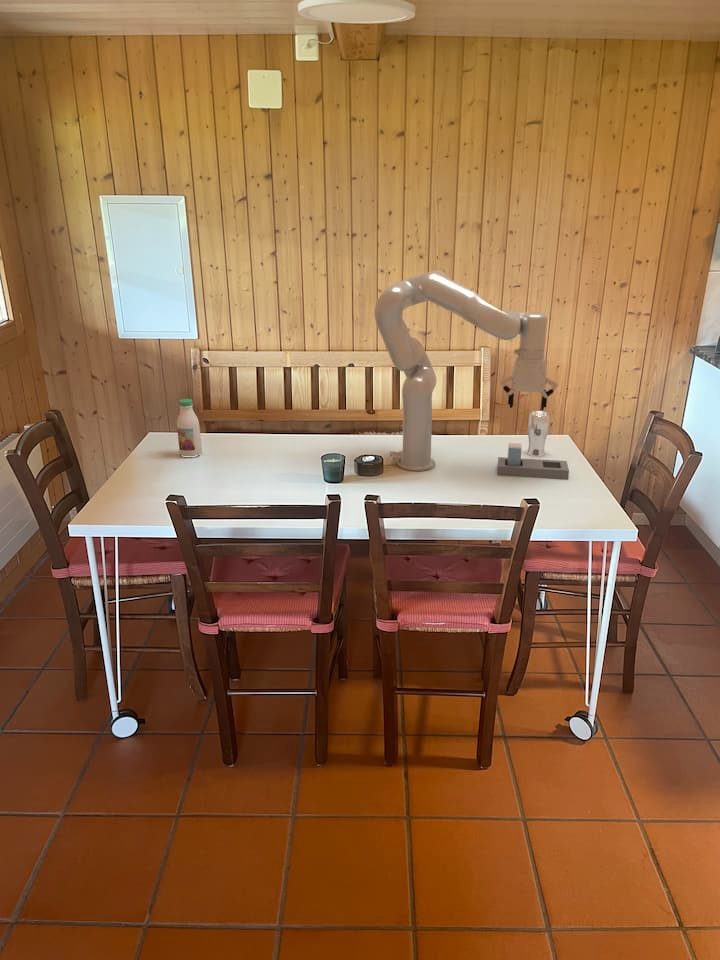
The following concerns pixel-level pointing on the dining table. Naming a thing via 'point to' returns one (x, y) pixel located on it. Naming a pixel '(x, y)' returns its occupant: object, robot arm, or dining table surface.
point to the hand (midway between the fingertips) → (526, 408)
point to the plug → (514, 454)
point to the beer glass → (537, 432)
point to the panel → (534, 468)
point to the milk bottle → (188, 430)
